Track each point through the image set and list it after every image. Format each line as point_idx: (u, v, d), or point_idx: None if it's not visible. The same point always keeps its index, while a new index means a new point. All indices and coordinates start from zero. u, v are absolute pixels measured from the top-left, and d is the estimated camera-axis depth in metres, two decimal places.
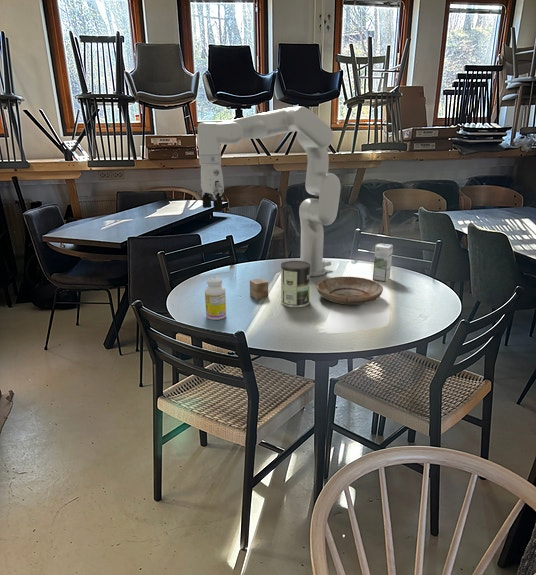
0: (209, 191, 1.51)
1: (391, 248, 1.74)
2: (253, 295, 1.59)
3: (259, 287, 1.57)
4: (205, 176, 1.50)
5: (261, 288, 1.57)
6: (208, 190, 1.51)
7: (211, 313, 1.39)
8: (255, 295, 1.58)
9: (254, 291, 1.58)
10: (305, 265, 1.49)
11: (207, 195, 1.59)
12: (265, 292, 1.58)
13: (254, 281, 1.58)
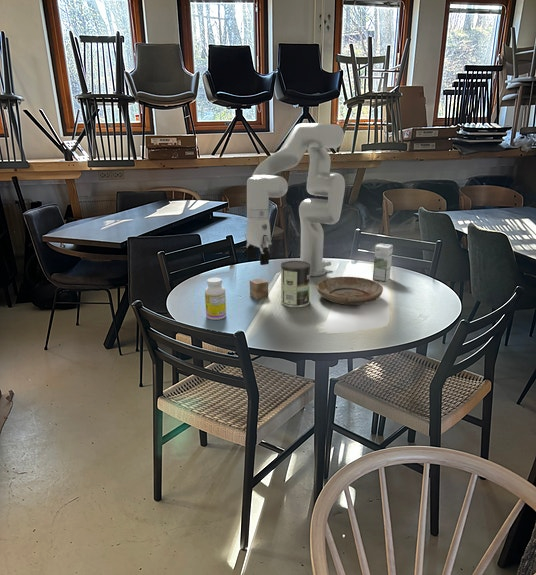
0: (256, 244, 1.50)
1: (391, 248, 1.74)
2: (253, 295, 1.59)
3: (259, 287, 1.57)
4: (252, 229, 1.50)
5: (261, 288, 1.57)
6: (255, 243, 1.50)
7: (211, 313, 1.39)
8: (255, 295, 1.58)
9: (254, 291, 1.58)
10: (305, 265, 1.49)
11: (252, 246, 1.58)
12: (265, 292, 1.58)
13: (254, 281, 1.58)
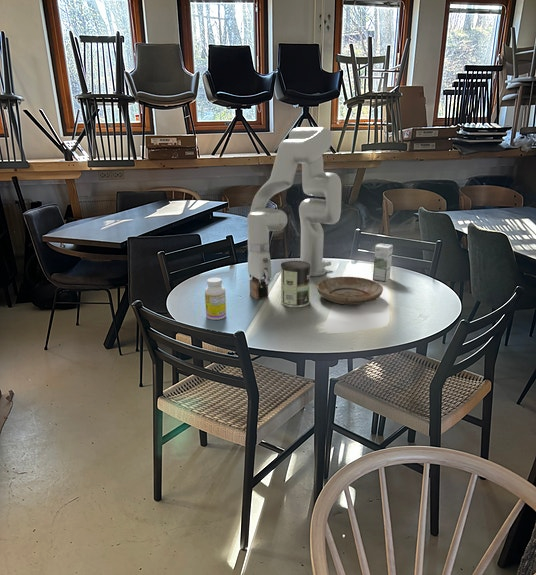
0: (257, 277, 1.54)
1: (391, 248, 1.74)
2: (253, 295, 1.59)
3: None
4: (253, 263, 1.54)
5: None
6: (256, 276, 1.55)
7: (211, 313, 1.39)
8: (255, 295, 1.58)
9: (253, 291, 1.58)
10: (305, 265, 1.49)
11: None
12: None
13: (254, 281, 1.58)
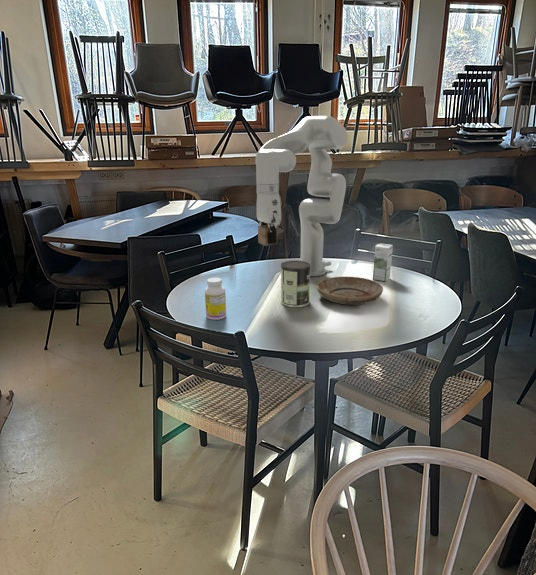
0: (266, 221, 1.46)
1: (391, 248, 1.74)
2: (261, 241, 1.51)
3: None
4: (262, 205, 1.46)
5: None
6: (265, 220, 1.46)
7: (211, 313, 1.39)
8: (263, 241, 1.49)
9: (262, 237, 1.50)
10: (305, 265, 1.49)
11: None
12: None
13: (263, 226, 1.50)
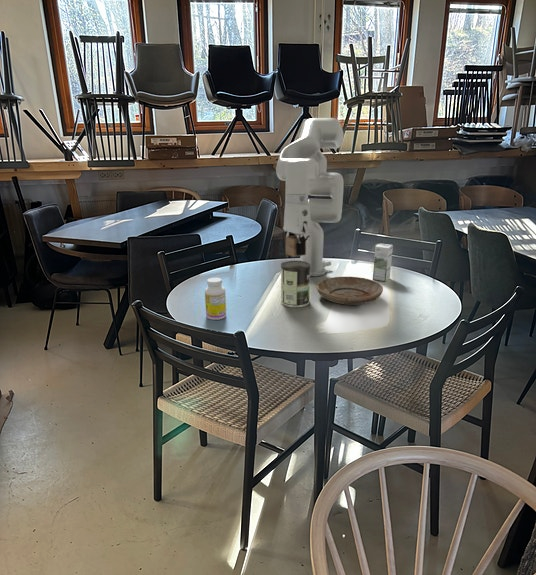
0: (295, 232, 1.43)
1: (391, 248, 1.74)
2: (289, 252, 1.47)
3: None
4: (291, 216, 1.42)
5: None
6: (294, 231, 1.43)
7: (211, 313, 1.39)
8: (292, 252, 1.46)
9: (290, 248, 1.46)
10: (305, 265, 1.49)
11: None
12: None
13: (291, 237, 1.46)
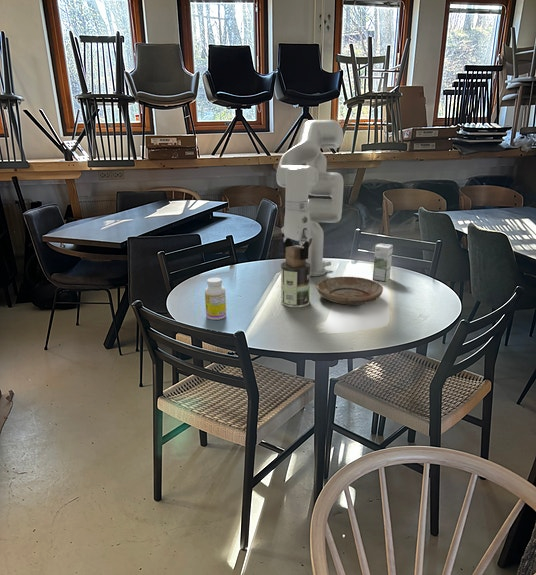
0: (295, 238, 1.43)
1: (391, 248, 1.74)
2: (290, 263, 1.48)
3: (297, 254, 1.46)
4: (291, 223, 1.43)
5: (299, 255, 1.47)
6: (294, 237, 1.44)
7: (211, 313, 1.39)
8: (292, 262, 1.47)
9: (290, 258, 1.48)
10: (305, 265, 1.49)
11: (289, 240, 1.52)
12: None
13: (291, 247, 1.48)
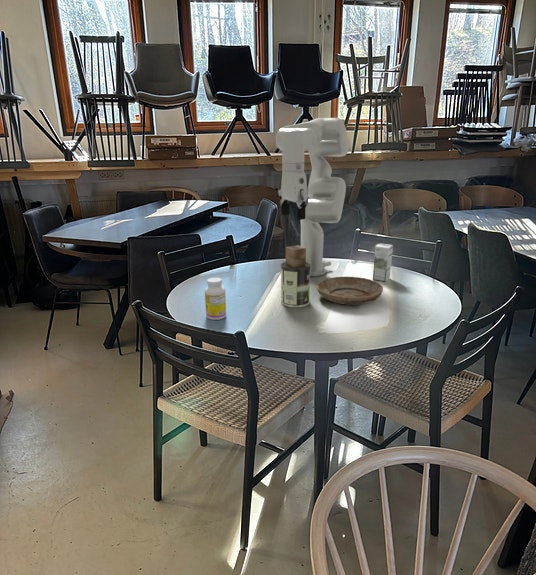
0: (293, 199, 1.49)
1: (391, 248, 1.74)
2: (290, 263, 1.48)
3: (297, 254, 1.46)
4: (288, 184, 1.49)
5: (299, 255, 1.47)
6: (292, 198, 1.49)
7: (211, 313, 1.39)
8: (292, 262, 1.47)
9: (290, 259, 1.48)
10: (305, 265, 1.49)
11: (286, 202, 1.57)
12: (302, 259, 1.48)
13: (291, 248, 1.48)
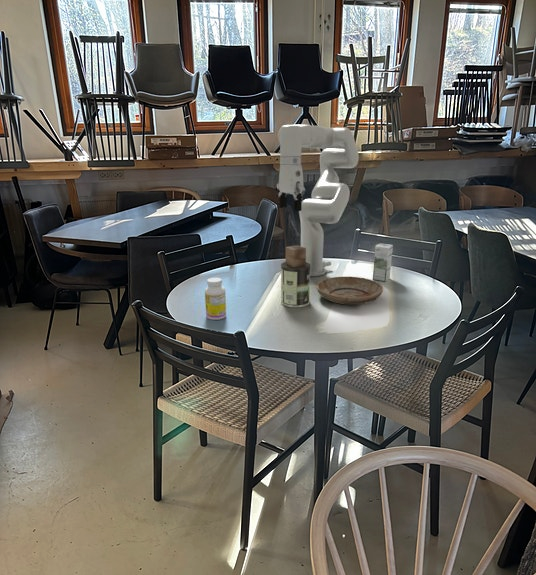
0: (289, 191, 1.56)
1: (391, 248, 1.74)
2: (290, 263, 1.48)
3: (297, 254, 1.46)
4: (286, 177, 1.56)
5: (299, 255, 1.47)
6: (288, 190, 1.56)
7: (211, 313, 1.39)
8: (292, 262, 1.47)
9: (290, 259, 1.48)
10: (305, 265, 1.49)
11: (283, 195, 1.64)
12: (302, 259, 1.48)
13: (291, 248, 1.48)
